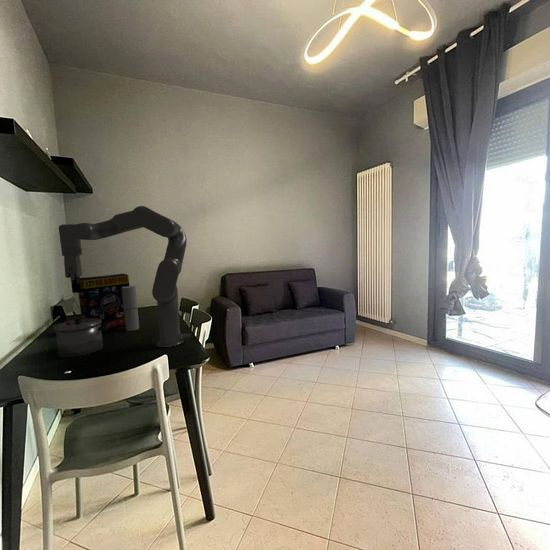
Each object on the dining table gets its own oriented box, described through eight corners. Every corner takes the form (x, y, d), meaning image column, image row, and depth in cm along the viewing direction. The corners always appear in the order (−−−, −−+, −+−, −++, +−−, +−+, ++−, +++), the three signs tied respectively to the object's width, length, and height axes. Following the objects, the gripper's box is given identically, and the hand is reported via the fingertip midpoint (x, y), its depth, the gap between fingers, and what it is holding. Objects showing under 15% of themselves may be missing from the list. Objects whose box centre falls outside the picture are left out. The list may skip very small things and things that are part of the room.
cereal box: (126, 321, 201) (120, 272, 198) (135, 323, 194) (129, 272, 191) (81, 332, 180) (74, 278, 177) (89, 334, 173) (82, 278, 170)
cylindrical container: (134, 330, 177) (130, 287, 174) (123, 330, 178) (119, 288, 175) (141, 327, 184) (138, 286, 181) (131, 327, 185) (127, 286, 182)
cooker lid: (104, 318, 157) (104, 312, 157) (97, 327, 139) (96, 320, 139) (60, 323, 150) (60, 317, 150) (47, 333, 133) (46, 326, 132)
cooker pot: (112, 340, 160) (110, 317, 159) (106, 352, 142) (104, 327, 140) (58, 347, 152) (55, 324, 150) (44, 361, 134) (41, 334, 132)
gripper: (66, 252, 144) (71, 291, 146) (57, 252, 130) (63, 295, 132) (84, 251, 147) (89, 289, 149) (77, 251, 133) (83, 293, 135)
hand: (77, 292), depth 140 cm, fingers closed
